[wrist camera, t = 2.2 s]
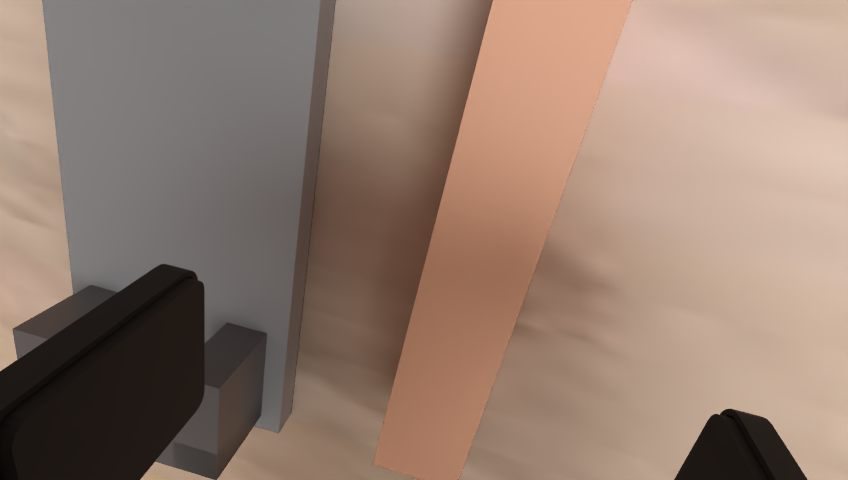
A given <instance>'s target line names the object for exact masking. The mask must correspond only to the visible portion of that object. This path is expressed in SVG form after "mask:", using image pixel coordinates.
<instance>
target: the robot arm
mask: <svg viewBox="0 0 848 480" xmlns="http://www.w3.org/2000/svg"><path fill="white" fill-rule="evenodd" d="M204 391H205V289H204V284H203V282H201V281H199V280H198V278H197V275H196V273H195V272H194V271H191V270H187V269H184V268H180V267H176V266H172V265H168V264H161V265H158V266H157V267H155V268H154V269H152V270H151V271H149V272H148V273H146V274H145V275H143V276H142V277H140V278H139V279H137V280H136V281H134V282H133V283H131V284H130V285H128V286H127V287H125V288H124V289H122V290H121V291H119V292H118V293H116V294H115V295H113V296H112V297H110V298H109V299H107V300H106V301H104V302H103V303H101V304H100V305H98V306H97V307H95V308H94V309H92V310H91V311H90V312H88V313H87V314H85V315H84V316H82V317H81V318H79V319H78V320H76V321H75V322H73V323H72V324H70V325H69V326H67V327H66V328H64V329H63V330H61V331H60V332H58V333H57V334H55V335H54V336H52V337H51V338H49V339H48V340H46V341H45V342H43V343H42V344H40V345H39V346H37V347H36V348H34V349H33V350H31V351H30V352H28V353H27V354H25V355H24V356H22V357H21V358H19V359H18V360H17V361H15V362H14V363H12V364H11V365H9V366H8V367H6V368H5V369H3V370H2V371H0V480H140V479H141V478H142V477H143V475H144V474H145V473H146V472H147V470H148V469H149V468H150V467H151V466H152V464H153V463H154V462H155V461H156V460H157V458H158V457H159V456H160V455H161V454H162V452H163V451H164V450H165V449H166V447H167V446H168V445H169V444H170V443H171V441H172V440H173V439H174V438H175V437H176V435H177V434H178V433H179V432H180V431H181V429H182V428H183V427H184V426H185V424H186V423H187V422H188V421H189V420H190V418H191V417H192V416H193V415H194V414H195V412H196V411H197V410H198V408H199V406H200V405H201V402H202V400H203V397H204ZM674 480H807V478H806V477H805V475H804V473H803V472H802V470H801V469H800V467H799V466H798V464H797V463H796V461H795V460H794V458H793V456H792V455H791V453H790V452H789V450H788V449H787V447H786V446H785V444H784V443H783V441H782V439H781V438H780V436H779V435H778V433H777V432H776V430H775V429H774V427H773V425H772V424H771V423H770V422H769V421H768V420H767V419H766V418H763V417H760V416H757V415H753V414H749V413H745V412H741V411H737V410H733V409H726V410H724V411H723V412H722V413H721V414H720V415H718V414H714V415H712V416H711V417H710V418H709V420H708V421H707V423H706V425H705V427H704V428H703V430H702V432H701V434H700V435H699V437H698V439H697V441H696V442H695V444H694V446H693V448H692V449H691V451H690V453H689V455H688V456H687V458H686V460H685V462H684V463H683V465H682V467H681V469H680V471H679V472H678V474H677V476H676V478H675V479H674Z"/></svg>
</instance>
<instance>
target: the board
mask: <svg viewBox="0 0 848 480" xmlns="http://www.w3.org/2000/svg"><path fill="white" fill-rule="evenodd" d="M335 1H336V0H42V3H43V12H44V22H45V31H46V40H47V50H48V59H49V69H50V78H51V88H52V97H53V106H54V116H55V125H56V135H57V144H58V154H59V163H60V172H61V182H62V191H63V201H64V210H65V220H66V229H67V238H68V248H69V257H70V267H71V276H72V286H73V294H75V293H77V292H79V291H81V290H82V289H84V288H86V287H88V286H89V285H93V286H97V287H101V288H104V289H108V290H112V291H115V292H119V291H121V290H122V289H124V288H125V287H127V286H128V285H130V284H131V283H133V282H134V281H136V280H137V279H139V278H140V277H142V276H143V275H145V274H146V273H148V272H149V271H151V270H152V269H154V268H155V267H157V266H158V265H161V264H168V265H172V266H176V267H180V268H184V269H187V270H191V271H194V272H195V273H196V275H197V278H198V280H199V281H201V282H203V284H204V289H205V343H206V342H207V341H208V340H209V339H210V338H211V337H212V336H213V335H214V334H215V333H216V332H217V331H218V330H219V329H221V328H222V327H223V326H224V325H225V324H226V323H227V322H228V323H231V324H235V325H239V326H242V327H246V328H249V329H253V330H257V331H260V332H264V333H267V344H266V357H265V370H264V383H263V397H262V410H261V417H260V418H259V419H258V421H257V422H256V424H255V425H254V426H256V427H259V428H262V429H266V430H269V431H273V432H276V433H279V432H280V430H281V429H282V427H283V425H284V424H285V422H286V421H287V419H288V417H289V416H290V414H291V410H292V400H293V391H294V382H295V373H296V363H297V354H298V345H299V335H300V326H301V317H302V307H303V298H304V289H305V280H306V270H307V261H308V252H309V242H310V233H311V224H312V214H313V205H314V196H315V187H316V177H317V168H318V159H319V149H320V140H321V131H322V121H323V112H324V103H325V94H326V84H327V75H328V66H329V56H330V47H331V38H332V28H333V19H334V10H335Z"/></svg>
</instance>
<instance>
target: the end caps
mask: <svg viewBox="0 0 848 480" xmlns="http://www.w3.org/2000/svg"><path fill="white" fill-rule="evenodd" d="M116 293H118V292H115V291H112V290H108V289H104V288H101V287H97V286H93V285H89V286H88V287H86V288H84V289H82V290H81V291H79V292H77V293H75V294H73V295H72V296H70V297H68V298H66V299H65V300H63V301H61V302H59V303H58V304H56V305H54V306H52V307H50V308H49V309H47V310H45V311H43V312H42V313H40V314H38V315H36V316H35V317H33V318H31V319H29V320H27V321H26V322H24V323H22V324H20V325H19V326H17V327H15V328H13V335H14V341H15V347H16V353H17V359H19V358H21V357H22V356H24V355H25V354H27V353H28V352H30V351H31V350H33V349H34V348H36V347H37V346H39V345H40V344H42V343H43V342H45V341H46V340H48V339H49V338H51V337H52V336H54V335H55V334H57V333H58V332H60V331H61V330H63V329H64V328H66V327H67V326H69V325H70V324H72V323H73V322H75V321H76V320H78V319H79V318H81V317H82V316H84V315H85V314H87V313H88V312H90V311H91V310H92V309H94V308H95V307H97V306H98V305H100V304H101V303H103V302H104V301H106V300H107V299H109V298H110V297H112V296H113V295H115V294H116ZM266 344H267V333H264V332H260V331H257V330H253V329H249V328H246V327H242V326H239V325H235V324H231V323H228V322H227V323H226V324H225V325H224V326H223V327H222V328H221V329H219V330H218V331H217V332H216V333H215V334H214V335H213V336H212V337H211V338H210V339H209V340H208V341H207V342H206V343H205V391H204V397H203V400H202V402H201V405H200V406H199V408H198V410H197V411H196V412H195V414H194V415H193V416H192V417H191V418H190V420H189V421H188V422H187V423H186V424H185V426H184V427H183V428H182V429H181V431H180V432H179V433H178V434H177V435H176V437H175V438H174V439H173V440H172V441H171V443H170V444H169V445H168V446H167V447H166V449H165V450H164V451H163V452H162V454H161V455H160V456H159V457H158V458H157V460H156V462H159V463H162V464H165V465H169V466H172V467H175V468H178V469H182V470H185V471H188V472H191V473H195V474H198V475H201V476H204V477H208V478H211V479H214V480H217V479H218V477H219V476H220V474H221V473H222V471H223V470H224V468H225V467H226V466H227V464H228V463H229V461H230V460H231V458H232V457H233V456H234V454H235V453H236V451H237V450H238V448H239V447H240V445H241V444H242V443H243V441H244V440H245V438H246V437H247V435H248V434H249V432H250V431H251V430H252V428H253V427H254V425H255V424H256V422H257V421H258V419H259V418H260V417H261V410H262V397H263V383H264V370H265V357H266Z"/></svg>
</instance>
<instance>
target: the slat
mask: <svg viewBox="0 0 848 480" xmlns="http://www.w3.org/2000/svg"><path fill="white" fill-rule="evenodd" d="M632 1H633V0H493V2H492V6H491V10H490V13H489V17H488V21H487V25H486V29H485V33H484V36H483V40H482V44H481V48H480V52H479V56H478V60H477V63H476V67H475V71H474V75H473V79H472V83H471V87H470V90H469V94H468V98H467V102H466V106H465V110H464V114H463V117H462V121H461V125H460V129H459V133H458V137H457V141H456V144H455V148H454V152H453V156H452V160H451V164H450V167H449V171H448V175H447V179H446V183H445V187H444V191H443V194H442V198H441V202H440V206H439V210H438V214H437V218H436V221H435V225H434V229H433V233H432V237H431V241H430V245H429V248H428V252H427V256H426V260H425V264H424V268H423V271H422V275H421V279H420V283H419V287H418V291H417V295H416V298H415V302H414V306H413V310H412V314H411V318H410V322H409V325H408V329H407V333H406V337H405V341H404V345H403V349H402V352H401V356H400V360H399V364H398V368H397V372H396V375H395V379H394V383H393V387H392V391H391V395H390V399H389V402H388V406H387V410H386V414H385V418H384V422H383V426H382V429H381V433H380V437H379V441H378V445H377V449H376V453H375V456H374V460H373V464H374V465H377V466H380V467H383V468H386V469H389V470H392V471H395V472H398V473H401V474H405V475H408V476H411V477H414V478H417V479H420V480H459V478H460V475H461V472H462V469H463V467H464V464H465V461H466V458H467V456H468V453H469V450H470V447H471V445H472V442H473V439H474V436H475V434H476V431H477V428H478V425H479V423H480V420H481V417H482V414H483V412H484V409H485V406H486V403H487V401H488V398H489V395H490V392H491V390H492V387H493V384H494V381H495V379H496V376H497V373H498V370H499V368H500V365H501V362H502V359H503V356H504V354H505V351H506V348H507V345H508V343H509V340H510V337H511V334H512V332H513V329H514V326H515V323H516V321H517V318H518V315H519V312H520V310H521V307H522V304H523V301H524V299H525V296H526V293H527V290H528V288H529V285H530V282H531V279H532V277H533V274H534V271H535V268H536V266H537V263H538V260H539V257H540V255H541V252H542V249H543V246H544V244H545V241H546V238H547V235H548V233H549V230H550V227H551V224H552V222H553V219H554V216H555V213H556V211H557V208H558V205H559V202H560V200H561V197H562V194H563V191H564V188H565V186H566V183H567V180H568V177H569V175H570V172H571V169H572V166H573V164H574V161H575V158H576V155H577V153H578V150H579V147H580V144H581V142H582V139H583V136H584V133H585V131H586V128H587V125H588V122H589V120H590V117H591V114H592V111H593V109H594V106H595V103H596V100H597V98H598V95H599V92H600V89H601V87H602V84H603V81H604V78H605V76H606V73H607V70H608V67H609V65H610V62H611V59H612V56H613V54H614V51H615V48H616V45H617V43H618V40H619V37H620V34H621V31H622V29H623V26H624V23H625V20H626V18H627V15H628V12H629V9H630V7H631V4H632Z"/></svg>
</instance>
